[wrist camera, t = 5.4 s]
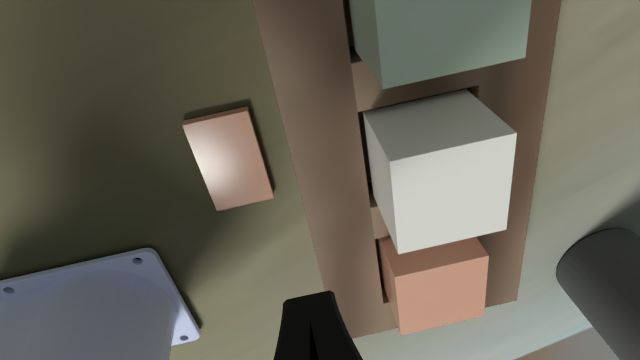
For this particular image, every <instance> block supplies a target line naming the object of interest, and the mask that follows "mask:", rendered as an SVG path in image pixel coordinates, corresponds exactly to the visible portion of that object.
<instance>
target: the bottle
mask: <svg viewBox="0 0 640 360" xmlns="http://www.w3.org/2000/svg"><path fill="white" fill-rule="evenodd" d="M556 277H557V280H558V282H559V284H560V285H561V287H562V288H563V289H564V291H565V292H566V293H567V294H568V296H569V297H570V298H571V300H572V301H573V302H574V303H575V305H576V306H577V307H578V308H579V310H580V311H581V312H582V313H583V315H584V316H585V317H586V318H587V319H588V321H589V322H590V323H591V324H592V326H593V327H594V328H595V329H596V331H597V332H598V333H599V334H600V335H601V337H602V338H603V339H604V340H605V342H606V343H607V344H608V345H609V347H610V348H611V349H612V350H613V351H614V353H615V354H616V355H617V356H618V358H619V359H620V360H640V238H639V237H638V236H637V235H635V234H634V233H632V232H631V231H628V230H625V229H609V230H604V231H600V232H598V233H595V234H593V235H590V236H588V237H586V238H584V239H583V240H581V241H580V242H578V243H577V244H575V245H574V246H573V247H572V248H571V249H570V250H569V251H568V252H567V253H566V254H565V255H564V256H563V258H562V259H561V261H560V262H559V265H558V267H557V271H556Z"/></svg>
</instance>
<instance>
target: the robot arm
mask: <svg viewBox="0 0 640 360" xmlns="http://www.w3.org/2000/svg"><path fill="white" fill-rule="evenodd" d="M136 258H141V259H140V260H138V259H136ZM199 337H200V329H199V327H198V325H197V324H196V322H195V320H194V318H193V316H192V315H191V313H190V311H189V309H188V307H187V306H186V304H185V302H184V300H183V298H182V297H181V295H180V293H179V291H178V289H177V288H176V286H175V284H174V282H173V281H172V279H171V277H170V275H169V273H168V272H167V270H166V268H165V266H164V264H163V263H162V261H161V259H160V257H159V255H158V254H157V252H156V251H155V250H153V249H151V248H142V249H138V250H133V251H129V252H125V253H120V254H116V255H111V256H107V257H102V258H98V259H94V260H89V261H85V262H80V263H76V264H72V265H67V266H63V267H58V268H54V269H50V270H45V271H41V272H36V273H32V274H28V275H23V276H19V277H14V278H10V279H6V280H1V281H0V360H169V357H170V351H171V346H173V345H177V344H181V343H186V342H190V341H194V340H197V339H198V338H199ZM274 360H363V359H362V357H361V355H360V354H359V352H358V350H357V348H356V346H355V344H354V342H353V340H352V338H351V336H350V334H349V332H348V330H347V328H346V326H345V323H344V321H343V319H342V316H341V314H340V311H339V308H338V305H337V302H336V298H335V294H334V292H332V291H330V290H329V291H324V292H320V293H315V294H311V295H306V296H301V297H297V298H292V299H288V300H286V301H285V302H284V303H283V312H282V320H281V326H280V332H279V337H278V342H277V347H276V352H275V356H274Z"/></svg>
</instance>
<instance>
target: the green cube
mask: <svg viewBox="0 0 640 360" xmlns="http://www.w3.org/2000/svg"><path fill="white" fill-rule="evenodd" d="M531 2H532V0H349V6H350V14H351V22H352V30H353V38H354V45H355V51H356V52H357V54H358V55H359V56H360V58H361V59H362V61H363V62H364V63H365V65H366V66H367V68H368V69H369V71H370V72H371V73H372V75H373V76H374V78H375V79H376V80H377V82H378V83H379V85H380V86H381V87H382V89H387V88H391V87H396V86H400V85H405V84H409V83H414V82H418V81H423V80H427V79H432V78H436V77H441V76H445V75H450V74H454V73H459V72H463V71H468V70H472V69H477V68H481V67H486V66H490V65H495V64H499V63H504V62H508V61H512V60H517V59H521V58H525V56H526V47H527V38H528V29H529V20H530V11H531Z"/></svg>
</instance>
